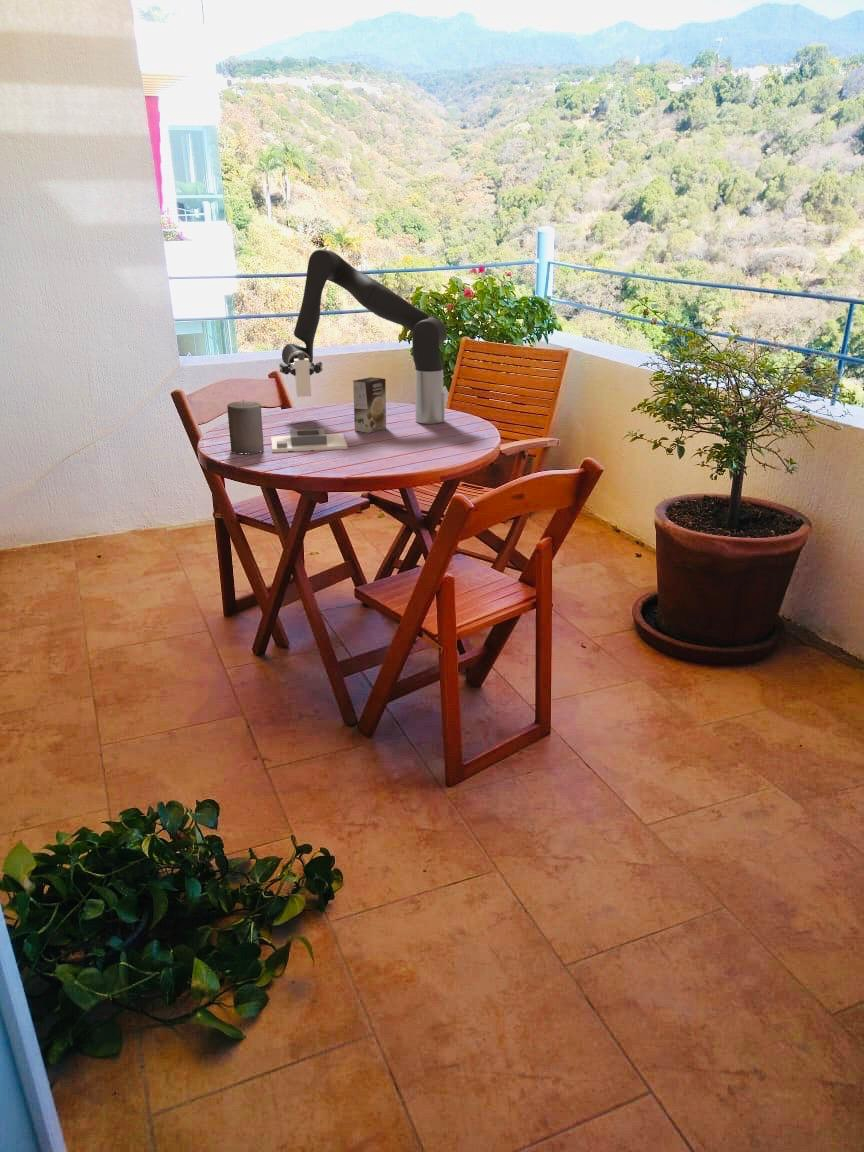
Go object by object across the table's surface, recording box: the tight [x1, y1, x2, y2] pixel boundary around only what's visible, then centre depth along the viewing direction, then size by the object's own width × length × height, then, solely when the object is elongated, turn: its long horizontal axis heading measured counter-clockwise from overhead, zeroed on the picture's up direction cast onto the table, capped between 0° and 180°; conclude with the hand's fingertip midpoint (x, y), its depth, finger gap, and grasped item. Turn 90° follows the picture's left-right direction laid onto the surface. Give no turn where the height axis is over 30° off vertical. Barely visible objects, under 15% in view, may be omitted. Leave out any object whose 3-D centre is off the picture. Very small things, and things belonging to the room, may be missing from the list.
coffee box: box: [352, 376, 387, 434], centre depth 268 cm, size 9×6×16 cm
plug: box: [294, 352, 312, 398], centre depth 258 cm, size 4×4×13 cm
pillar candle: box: [226, 399, 265, 455], centre depth 243 cm, size 10×10×15 cm
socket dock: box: [270, 427, 348, 453], centre depth 252 cm, size 22×16×4 cm
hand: (302, 372), depth 256 cm, fingers closed on plug, 4 cm apart
